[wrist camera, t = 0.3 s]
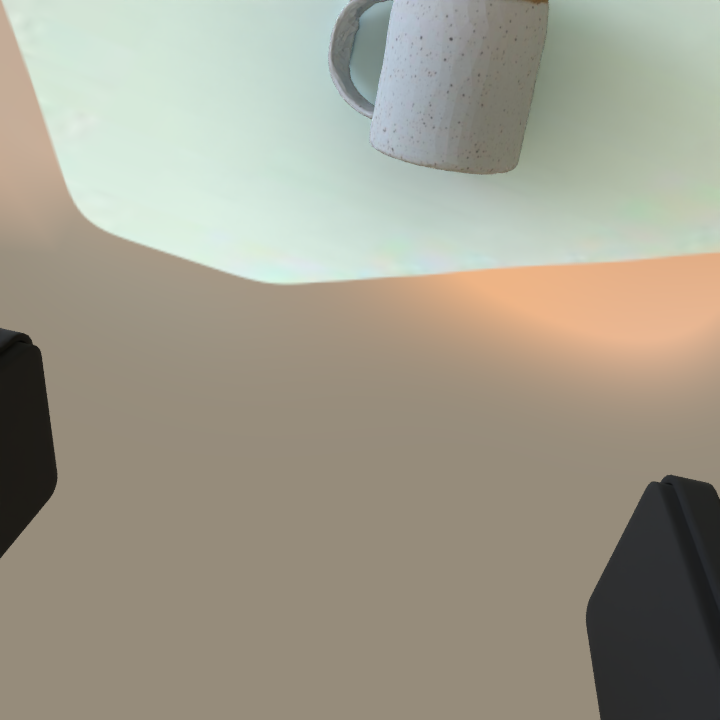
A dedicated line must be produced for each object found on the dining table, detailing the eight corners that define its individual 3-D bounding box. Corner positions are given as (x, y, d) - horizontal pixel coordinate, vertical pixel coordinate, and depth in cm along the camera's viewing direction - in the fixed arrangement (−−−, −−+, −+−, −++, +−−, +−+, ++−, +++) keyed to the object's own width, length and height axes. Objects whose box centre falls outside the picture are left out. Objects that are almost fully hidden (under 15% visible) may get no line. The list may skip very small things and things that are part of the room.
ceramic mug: (552, -17, 32) (565, -15, 26) (514, 151, 37) (517, 190, 30) (342, -43, 33) (303, -47, 27) (329, 123, 38) (293, 155, 31)
